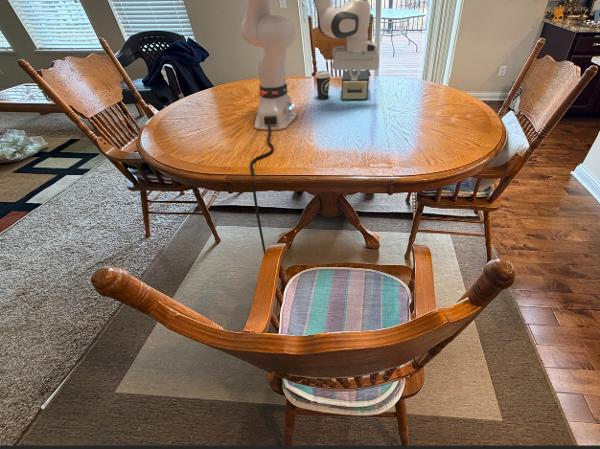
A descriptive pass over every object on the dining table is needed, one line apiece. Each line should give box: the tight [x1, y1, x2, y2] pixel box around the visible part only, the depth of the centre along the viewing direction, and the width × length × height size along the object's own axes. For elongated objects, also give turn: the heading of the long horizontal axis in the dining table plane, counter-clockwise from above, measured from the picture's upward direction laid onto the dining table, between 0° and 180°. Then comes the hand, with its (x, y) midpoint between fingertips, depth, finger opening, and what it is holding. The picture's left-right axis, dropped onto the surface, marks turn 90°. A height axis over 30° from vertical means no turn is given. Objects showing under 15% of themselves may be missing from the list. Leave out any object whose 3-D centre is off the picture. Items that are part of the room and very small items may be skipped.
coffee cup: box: [314, 70, 331, 100], centre depth 152 cm, size 8×8×12 cm
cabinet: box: [340, 70, 370, 101], centre depth 154 cm, size 15×13×10 cm
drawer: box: [342, 81, 368, 99], centre depth 150 cm, size 18×12×8 cm, turn 171°
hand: (354, 80), depth 137 cm, fingers closed
